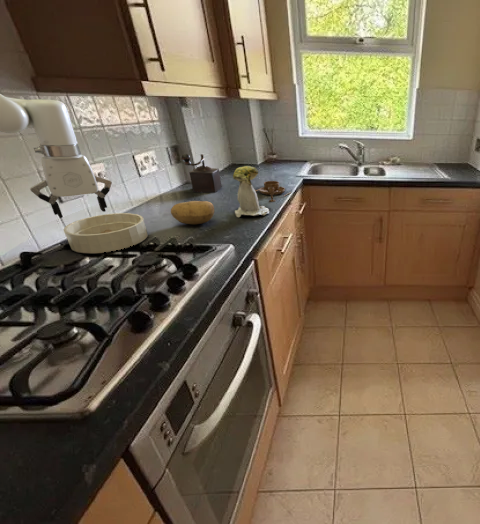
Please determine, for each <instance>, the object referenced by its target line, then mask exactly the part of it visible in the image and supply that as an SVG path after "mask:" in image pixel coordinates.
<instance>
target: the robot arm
mask: <svg viewBox="0 0 480 524" xmlns="http://www.w3.org/2000/svg"><path fill="white" fill-rule="evenodd" d="M26 129H27V130H28V129H33V130H34V132H35V135H36V137H37V140H38V143H39V145H38V146H37V147H33V151H34V153H35V154H41V155H43V156H41V157H40V158H41V159H40V161H41V166H42V170H43V171H42V172H43V175H44V178H45V179H44V180H42V181H40V182H38V183H36V184H35V185H33V186H31V187H30V188H29V190H30V192H32V193H33V194H34V195H35V196H36V197H37V198H39V199H40V200H41V201H44V202H46V203H48V204H50V206H51V209H52V212H53V214H54V215H55V216H58V218H59V219H62V218H64V217H63V213H62V211H61V210H62V209H61V208H60V205H59V203H58V201H57V200H58V199H59V198H60V197H61V198H62V197H63V198H64V197H74V196H81V195H90V194H95V195H97V196H96V200H97V202H98V206H99V209H100V211H102V212H103V213H106V212H107V208H108V206H107V202H106V199H105V198H106V196H107V195H108V193H109V192H110V189H111V187H112V184H113V182H112V181H111V180H110V179H106V178H103V177H100V176H97V175H95V173H94V171H93V169H92V166H91V164H90V161H89V160H88V157H86V156H85V155H83V154H82V153H81V149H80V146H79V142H78V140H77V136H76V133H75V131H74V127H73V124H72V120H71V117H70V114H69V111H68V108H67V106H66V104H65V103H64V102H62V101H61V100H57V99H43V98H42V99H41V98H32V99H23V98H15V97H9V96H5V95H3V94H1V93H0V132H1V133H5V134H17V133H20V132H22V131H24V130H26ZM98 183H101V184H103V185H104V186H103V187H102V189H101V190H99V186H98ZM46 187H48V190H49V191H50V194H49V196H48V195H47V194H44V193H43V192H42V191H41V190H43V189H45V188H46Z"/></svg>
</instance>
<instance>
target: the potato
mask: <svg viewBox="0 0 480 524" xmlns="http://www.w3.org/2000/svg"><path fill="white" fill-rule="evenodd" d="M214 214H215V206H214V204H213V203H212V202H210V201H207V200H206V201H205V200H202V201H201V200H199V201H198V200H190V201H186V202H185V201H184V202H178V203H176V204H174V205H173V206H172V207H171V209H170V215H171V216H172V218H174V219H175V220H177V221H178V222H179V223H181V224H186V225H195V226H196V225H202V224H206V223H207V222H209V221H210V220H212V218H213V217H214V216H215V215H214Z"/></svg>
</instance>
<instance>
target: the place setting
mask: <svg viewBox="0 0 480 524" xmlns="http://www.w3.org/2000/svg"><path fill="white" fill-rule="evenodd" d="M255 191H256V192H259V193H260V194H262V195H264V196H270V199H268V202H270V203H275V202H276V201H277V200H276V199H274V196H278V195H281V194H284V193H285V191H286V188H285V187H284V186H280V182H279V181H277V180H268V181H267V180H266V181H264V182H263V187H260V188H258V189H255ZM291 193H293V192H292V191H290V192H288V193H286V194H285V195H283V197H287V195H289V194H291Z"/></svg>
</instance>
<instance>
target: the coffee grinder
mask: <svg viewBox="0 0 480 524" xmlns="http://www.w3.org/2000/svg"><path fill="white" fill-rule="evenodd" d="M180 160H181V161H182V162H183V164H184V166H187V167H188V166H192V167H195V168H193V169H192V170H191V171H189V177H190V182H191V187H192V192H193V193H203V194H205V193H206V194H207V193H208V194H209V193H212V194H215V193H217V192H218V191H220V190H221V189H222V188H223V186H222V180H221V175H220V174H221V173H220V168H218V167H217V168H214V167H210V166H208V165H206V164H205V156H204V154H200V160H199V161H198V162H195V163H192V162H191V161H190V160H191V155H190V154H188V153H182V154H181V155H180ZM198 165H199V166H198Z"/></svg>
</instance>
